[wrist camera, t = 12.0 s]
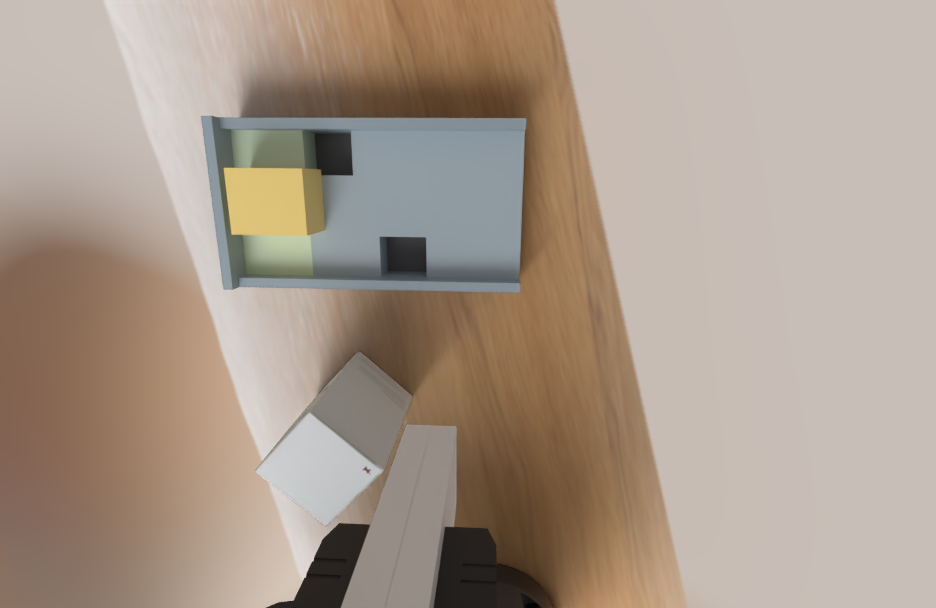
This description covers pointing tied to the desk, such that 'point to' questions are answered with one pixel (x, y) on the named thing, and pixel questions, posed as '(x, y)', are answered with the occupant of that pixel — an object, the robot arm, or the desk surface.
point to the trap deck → (380, 202)
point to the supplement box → (339, 440)
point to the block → (275, 201)
